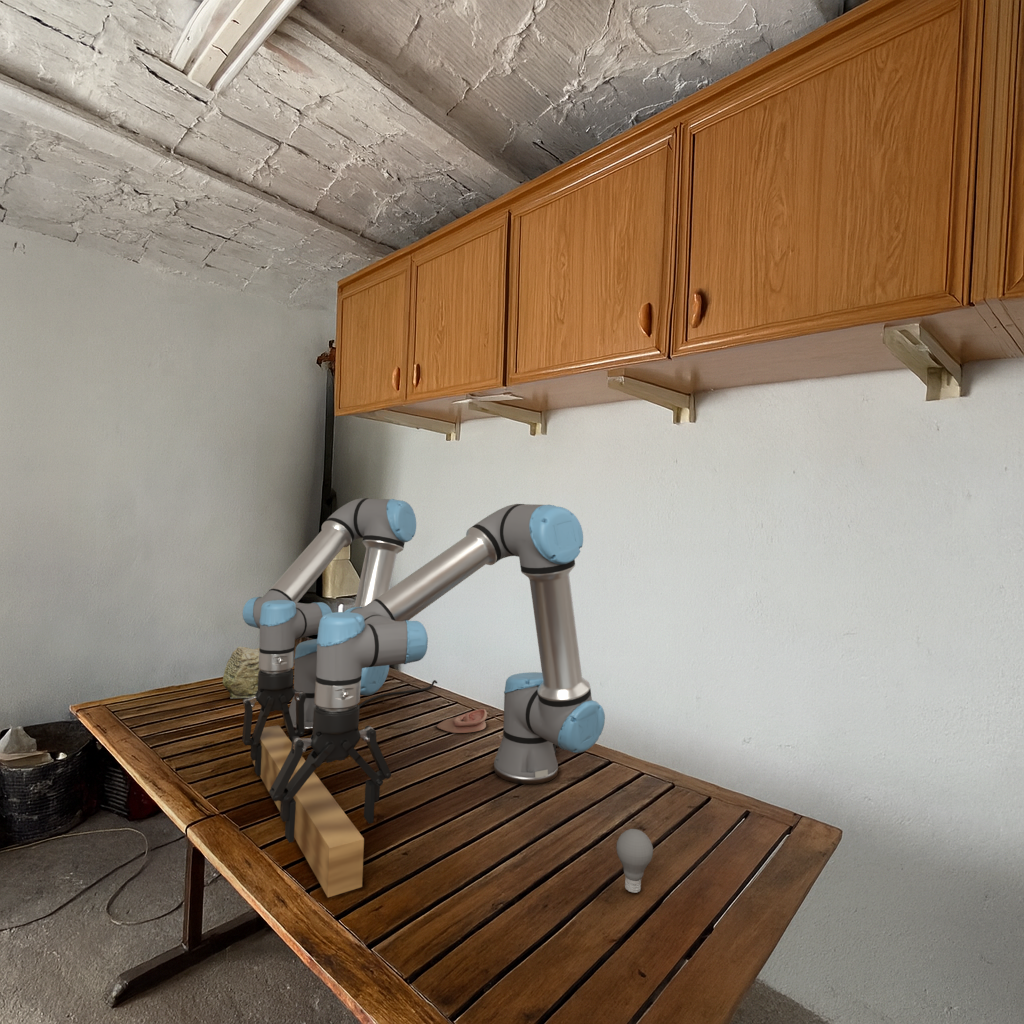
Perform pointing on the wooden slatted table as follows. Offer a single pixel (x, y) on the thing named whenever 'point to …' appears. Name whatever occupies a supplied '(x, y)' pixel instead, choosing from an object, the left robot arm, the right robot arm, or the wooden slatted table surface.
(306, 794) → the post
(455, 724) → the anatomical model
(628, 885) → the light bulb
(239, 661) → the fossil
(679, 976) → the wooden slatted table surface
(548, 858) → the wooden slatted table surface
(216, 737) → the wooden slatted table surface
